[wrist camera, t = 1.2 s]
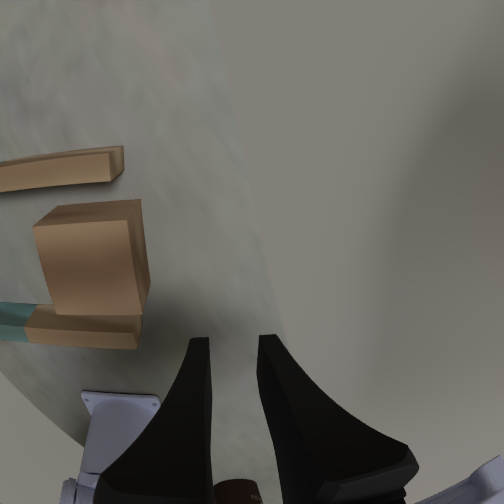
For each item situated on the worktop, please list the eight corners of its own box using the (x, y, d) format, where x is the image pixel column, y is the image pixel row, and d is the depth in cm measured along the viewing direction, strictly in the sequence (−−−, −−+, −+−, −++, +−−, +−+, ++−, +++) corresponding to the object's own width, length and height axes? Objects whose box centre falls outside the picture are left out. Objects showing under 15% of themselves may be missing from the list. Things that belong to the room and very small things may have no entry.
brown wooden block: (151, 281, 22) (142, 315, 18) (75, 282, 21) (56, 314, 17) (141, 198, 19) (126, 220, 16) (58, 204, 18) (32, 226, 15)
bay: (143, 323, 23) (130, 381, 18) (-2, 315, 21) (-32, 359, 16) (123, 76, 16) (87, 65, 10) (-44, 116, 14) (-97, 129, 8)
